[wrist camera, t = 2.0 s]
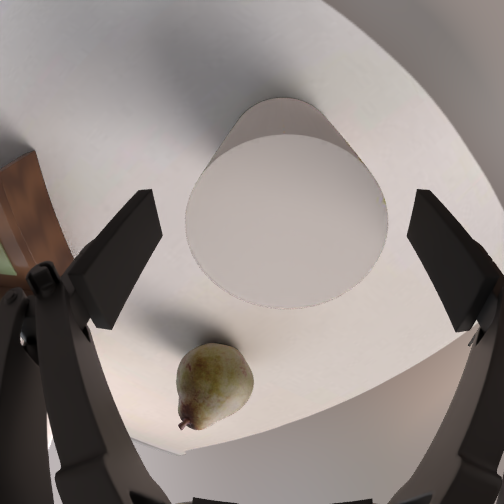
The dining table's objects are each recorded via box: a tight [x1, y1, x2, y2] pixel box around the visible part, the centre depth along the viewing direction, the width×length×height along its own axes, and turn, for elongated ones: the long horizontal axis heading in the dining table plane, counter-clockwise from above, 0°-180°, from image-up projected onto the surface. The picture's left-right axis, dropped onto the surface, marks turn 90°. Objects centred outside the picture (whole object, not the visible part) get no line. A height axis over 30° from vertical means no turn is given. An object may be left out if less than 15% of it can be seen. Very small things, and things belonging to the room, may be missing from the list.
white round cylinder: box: [185, 98, 388, 309], centre depth 16 cm, size 8×8×12 cm
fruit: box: [176, 343, 254, 430], centre depth 32 cm, size 10×9×12 cm
